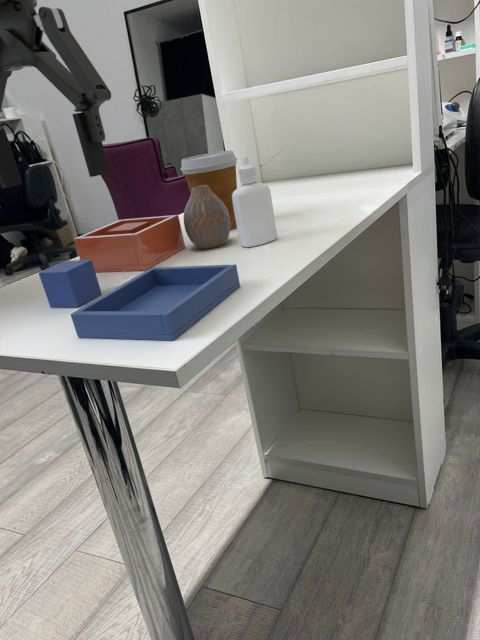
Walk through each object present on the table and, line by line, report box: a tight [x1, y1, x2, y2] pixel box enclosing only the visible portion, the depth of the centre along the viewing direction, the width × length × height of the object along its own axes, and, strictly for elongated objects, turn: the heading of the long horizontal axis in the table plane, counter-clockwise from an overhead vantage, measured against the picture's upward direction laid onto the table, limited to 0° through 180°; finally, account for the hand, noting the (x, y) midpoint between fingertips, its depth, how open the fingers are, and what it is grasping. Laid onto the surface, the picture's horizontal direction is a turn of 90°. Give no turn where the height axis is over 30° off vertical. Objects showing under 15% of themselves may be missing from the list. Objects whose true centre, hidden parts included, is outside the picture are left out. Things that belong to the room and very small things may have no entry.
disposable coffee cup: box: [179, 150, 238, 231], centre depth 91 cm, size 10×10×12 cm
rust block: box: [107, 222, 150, 235], centre depth 81 cm, size 4×4×4 cm
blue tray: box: [69, 264, 241, 341], centre depth 58 cm, size 12×15×3 cm
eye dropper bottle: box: [232, 156, 278, 248], centre depth 77 cm, size 4×6×12 cm
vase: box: [183, 185, 231, 250], centre depth 81 cm, size 7×7×9 cm
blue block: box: [38, 259, 103, 309], centre depth 66 cm, size 4×4×4 cm
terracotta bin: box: [73, 214, 186, 273], centre depth 81 cm, size 11×11×5 cm
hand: (54, 181), depth 64 cm, fingers open, 13 cm apart
